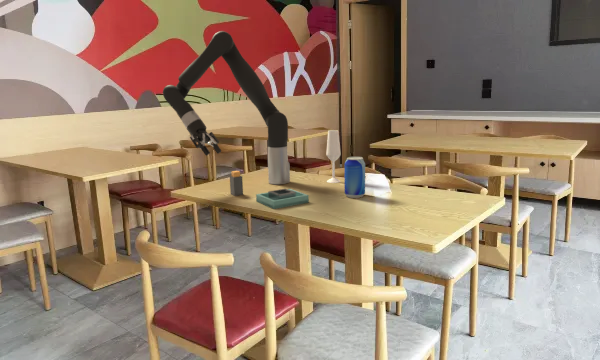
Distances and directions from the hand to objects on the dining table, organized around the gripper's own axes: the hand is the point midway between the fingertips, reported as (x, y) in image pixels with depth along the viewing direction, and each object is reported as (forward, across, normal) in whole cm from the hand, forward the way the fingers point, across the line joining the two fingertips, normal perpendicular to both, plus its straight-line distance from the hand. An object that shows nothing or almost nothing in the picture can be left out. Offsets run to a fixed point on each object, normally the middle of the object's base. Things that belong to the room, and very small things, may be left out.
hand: (214, 153), depth 211 cm
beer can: (+50, +15, -35) cm, 63 cm away
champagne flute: (+38, +38, -22) cm, 58 cm away
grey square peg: (+20, 0, +2) cm, 20 cm away
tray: (+36, -4, -16) cm, 39 cm away
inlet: (+35, -4, -17) cm, 39 cm away
